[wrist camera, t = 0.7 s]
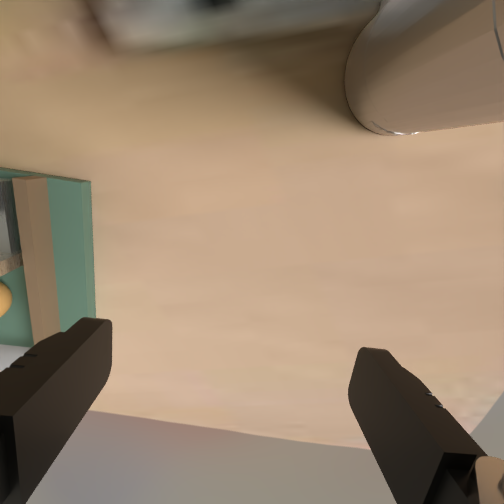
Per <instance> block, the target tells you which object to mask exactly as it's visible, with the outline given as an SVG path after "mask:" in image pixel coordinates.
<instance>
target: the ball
mask: <svg viewBox="0 0 504 504" xmlns="http://www.w3.org/2000/svg"><path fill="white" fill-rule="evenodd" d="M11 304H12V293H11V291H10V289H9V288H8V287H7V286H6V285H5V284H3V283H2V282H0V317H1V316H3V315H4V314H5V313H6V312H7V311H8V310H9V308H10V306H11Z"/></svg>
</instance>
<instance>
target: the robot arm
mask: <svg viewBox="0 0 504 504" xmlns="http://www.w3.org/2000/svg"><path fill="white" fill-rule="evenodd" d="M344 84H345V92H346V98H347V101H348V104H349V107H350V109H351V111H352V112H353V114H354V116H355V117H356V119H357V120H358V121H359V122H360V123H361V124H362V125H363V126H364V127H366V128H368V129H369V130H371V131H372V132H375V133H378V134H382V135H393V136H394V135H407V134H415V133H419V132H427V131H435V130H443V129H451V128H458V127H466V126H474V125H482V124H489V123H497V122H504V0H381V4H380V8H379V11H378V13H377V15H376V16H375V17H374V18H373V19H372V20H371V21H370V22H369V24H368V25H367V26H366V27H365V28H364V29H363V30H362V32H361V33H360V35H359V36H358V38H357V39H356V41H355V42H354V45H353V47H352V49H351V52H350V54H349V57H348V61H347V65H346V69H345V83H344ZM111 366H112V322H111V321H110V320H108V319H99V318H90V317H83V318H81V319H79V320H78V321H77V322H76V323H75V324H74V325H72V326H71V327H70V328H69V329H68V330H67V331H65V332H58V333H56V334H54V335H52V336H49V337H47V338H45V339H43V340H41V341H39V342H38V343H37V344H35V345H34V346H33V347H32V348H30V349H29V350H28V351H27V352H25V353H24V355H23V356H20V357H19V358H18V359H16V360H15V361H14V362H13V363H11V364H10V367H9V368H8V367H6V368H5V369H4V370H3V371H1V372H0V504H26V502H27V501H28V499H29V497H30V496H31V495H32V493H33V491H34V490H35V488H36V487H37V486H38V484H39V483H40V481H41V480H42V478H43V477H44V475H45V474H46V472H47V471H48V469H49V468H50V466H51V464H52V463H53V462H54V460H55V459H56V457H57V456H58V454H59V453H60V451H61V450H62V448H63V447H64V445H65V444H66V442H67V441H68V439H69V438H70V436H71V435H72V433H73V432H74V430H75V429H76V427H77V426H78V424H79V423H80V421H81V420H82V418H83V417H84V415H85V414H86V412H87V411H88V409H89V408H90V406H91V405H92V403H93V402H94V400H95V399H96V397H97V396H98V394H99V393H100V391H101V390H102V388H103V387H104V385H105V384H106V382H107V380H108V377H109V374H110V371H111ZM348 398H349V403H350V406H351V409H352V411H353V413H354V415H355V417H356V419H357V421H358V423H359V426H360V428H361V430H362V432H363V434H364V436H365V438H366V440H367V442H368V444H369V446H370V448H371V450H372V453H373V455H374V457H375V459H376V461H377V463H378V465H379V467H380V469H381V471H382V473H383V475H384V478H385V480H386V482H387V484H388V486H389V488H390V490H391V492H392V494H393V496H394V498H395V500H396V503H397V504H504V460H501V459H499V458H496V457H490V456H488V455H487V454H486V453H485V452H484V451H483V450H482V449H481V448H480V447H479V445H477V443H476V442H475V441H474V440H473V439H472V438H471V436H470V435H469V434H468V433H467V432H466V431H465V430H464V429H463V427H462V426H461V425H460V424H459V423H458V422H457V421H456V420H455V419H454V417H453V416H452V415H451V414H450V413H449V412H448V411H447V410H446V409H445V408H443V405H442V404H441V403H440V402H439V401H438V399H437V398H436V397H435V396H432V393H431V392H430V391H429V389H428V388H427V387H426V386H425V385H424V384H423V383H422V382H421V380H420V379H418V378H417V377H416V376H414V375H413V374H412V373H410V372H409V371H408V370H406V369H405V368H403V367H402V366H401V365H400V364H399V363H398V362H397V361H396V359H395V358H394V357H393V356H392V355H391V354H390V352H389V351H387V350H385V349H376V348H367V347H362V348H361V349H360V350H359V352H358V354H357V358H356V362H355V365H354V369H353V373H352V376H351V380H350V384H349V388H348Z"/></svg>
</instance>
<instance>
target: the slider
mask: <svg viewBox="0 0 504 504" xmlns="http://www.w3.org/2000/svg"><path fill="white" fill-rule="evenodd" d="M21 266H23V258H22V250H21V243H20V235H19V228H18V220H17V213H16V205H15V198H14V190H13V183H12V179H9V178H2V177H0V277H1V276H3V275H5V274H7V273H9V272H11V271H13V270H15V269H17V268H19V267H21Z"/></svg>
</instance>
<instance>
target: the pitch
mask: <svg viewBox="0 0 504 504" xmlns="http://www.w3.org/2000/svg"><path fill="white" fill-rule="evenodd" d="M0 177H2V178H9V179H12V183H13V190H14V198H15V205H16V213H17V220H18V228H19V235H20V243H21V250H22V258H23V266H21V267H19V268H17V269H15V270H13V271H11V272H9V273H7V274H5V275H3V276H1V277H0V282H2V283H3V284H5V285H6V286H7V287H8V288H9V289H10V291H11V293H12V304H11V306H10V308H9V310H8V311H7V312H6V313H5V314H4V315H3V316H1V317H0V372H1V371H3V370H4V369H5V368H6V367H8V368H9V367H10V364H11V363H13V362H14V361H15V360H16V359H18V358H19V357H20V356H23V355H24V353H25V352H27V351H28V350H29V349H30V348H32V347H33V346H34V345H35V344H37V343H38V342H39V341H41V340H43V339H45V338H47V337H49V336H52V335H54V334H56V333H58V332H65V331H67V330H68V329H69V328H70V327H71V326H72V325H74V324H75V323H76V322H77V321H78V320H79V319H81V318H83V317H90V318H96V308H95V282H94V257H93V231H92V205H91V181H86V180H79V179H73V178H66V177H60V176H53V175H47V174H40V173H34V172H27V171H21V170H14V169H8V168H1V167H0Z"/></svg>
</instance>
